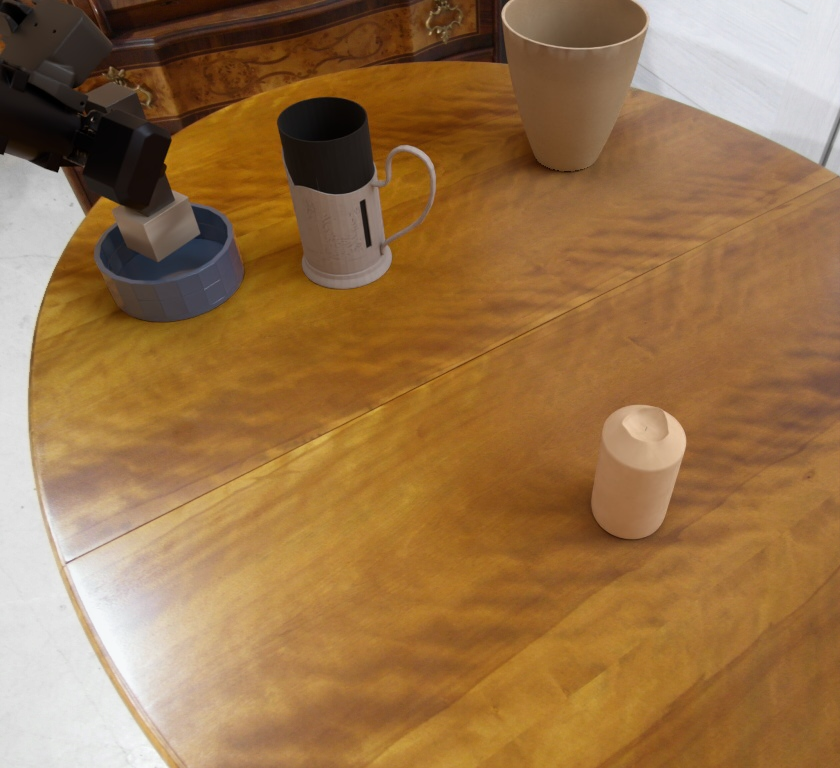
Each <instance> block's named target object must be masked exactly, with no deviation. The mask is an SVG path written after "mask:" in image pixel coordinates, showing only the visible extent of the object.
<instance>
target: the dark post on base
mask: <svg viewBox="0 0 840 768" xmlns="http://www.w3.org/2000/svg"><path fill="white" fill-rule="evenodd" d="M84 94H85V95H88V96H89V97H88V100H87V103H86V106H85V109H84V112H85V114H86V115H88V113H89V112H90V111H92V110H97V111H99V112H102V113H104V114H107V113H109V112H110V111H111V109H113V110H115V109H119V110H122V111H124V112H126V113H129V114H131V115H134V116H136V117H139V118H141V119H144V120H146V121H148V120H147V117H146V114H145V112H144V109H143V106H142V103H141V100H140V98H139V95H138V92H137V91H136V90H134V89H130V88H128V87H125V86H123V85H120V84H118V83H115V82H113V81H109V82H108V83H105V84H103V85H101V86H99V87H96V88H95V89H92V90H91V91H89V92H86V93H84ZM86 115H85V116H86ZM93 131H94V130H93ZM190 203H191V202H190V199H189V197H188V196H187V195H184V194H183V193H180V192H178V191H176V190H173V189H172V187H171V184H170V182H169V179H168V176H167V173H166V172H165V175H164V177H162V178H158V181H157V184H156V187H155V190H154V193H153V195H152V198H151V201H150V204H149V206H148V207H147V208H145V209H144V210H142V211H139V210H135V209H132V208H129V207H126V206H122V205H119V204H118V205H117V206H116V207H115V208H113V209H111V210H110V211H111V213H112V215H113V218H114V220H115V222H117V225H118V227H119V229H120V232H121V234H122V236H123V239H124V241H125V243H126V246H127V247H128V248H130V249H132V250H134V251H136V252H138V253H140V254H142V255H144V256H146V257H148V258H150V259H152V260H154V261H156V262H159V261H161V260H162V259H164V258H165V257H167V256H168V255H170V254H171V253H173V252H174V251H176V250H177V249H179V248H180V247H182V246H183V245H185V244H186V243H187V242H189V241H190V240H192V239H193V238H195V237H196V236H198V235H199V234H200V231H199V228H198V225H197V222H196V219H195V216H194V213H193V210H192V207H191V204H190Z"/></svg>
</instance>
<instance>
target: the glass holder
mask: <svg viewBox="0 0 840 768" xmlns="http://www.w3.org/2000/svg"><path fill="white" fill-rule="evenodd" d="M276 125H277V130H278V135H279V139H280V143H281V157H282V163H283V167H284V171H285V175H286V179H287V183H288V188H289V193H290V198H291V203H292V205H293V210H294V214H295V219H296V225H297V228H298V232H299V238H300V242H301V246H302V250H303V255H302V259H301V268H302V271H303V273H304V275H305V276H306V277H307V278H308V279H309V280H310V281H311V282H312V283H314V284H316V285H319V286H321V287H324V288H327V289H334V290H350V289H356V288H360V287H363V286H367V285H369V284H372V283H373V282H376V281H377V280H379V279H380V278H381V277H382V276H384V275H385V274H386V273H387V271H388V270H389V269H390V267H391V265H392V262H393V261H392V260H393V253H392V250H391V247H390V246H389V245H390V244H391V243H393V242H395V241H396V240H398V239H399V238H401V237H403V236H404V235H407V234H408V233H410V232H411V231H412V230H414V229H416V228H417V227H419V226H420V225H421V224H423V222H424V221H425V219H426V218H427V216H428V214H429V213H430V210H431V208H432V206H433V204H434V200H435V196H436V191H437V183H436V182H437V175H436V170H435V165H434V164H433V162H432V160H431V158H430V157H429V156H428V155H427V154H426V153H425V152H424V151H423V150H421V149H419V148H418V147H416V146H412V145H409V144H403V145H398V146H397V147H394V148H393V149H392V150H391V151H390V152H389V153H388V154H387V157H386V160H385V163H384V164H385V165H384V172H385V180H380V179H379V180H378V172H377V171H378V170H377V166H376V163H375V161H374V157H373V149H372V140H371V133H370V125H369V118H368V112H367V109H365V108H364V107H363V105H361V104H360V103H359V102H356V101H354V100H352V99H349V98H344V97H337V96H318V97H311V98H307V99H302V100H299V101H297V102H294V103H293V104H291V105H289V106H287V107H285V109H282V111H281V112H280V113H279V115H278V116H277V119H276ZM399 153H408V154H412V155H414V156H415V157H418V158H419V159H420V160H421V161H422V162H423V163H424V165H425V167H426V168H427V170H428V174H429V180H430V181H429V182H430V184H429V185H430V186H429V196H428V199H427V200H428V202H427V204H426V206H425V208H424V209H423V212H422V213H421V215H420V216H419V218H417V219H416V220H415V221H414V222H412V223H411V224H410V225H408V226H406V227H405V228H403V229H402V230H399V231H398V232H395V233H394V234H393V235H391V236H389V237H388V238H387V239H386V234H385V228H384V220H383V210H382V203H381V196H380V194H381V193H380V188H385V187H386V186H388V185H389V184H390V182H391V180H392V161H393V158H394V157H395V155H396V154H399Z"/></svg>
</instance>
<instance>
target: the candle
mask: <svg viewBox="0 0 840 768" xmlns="http://www.w3.org/2000/svg"><path fill="white" fill-rule="evenodd" d="M686 448H687V436H686V433H685V430H684V428H683V427H682V425H681V423H680V422H679V421H678V420H677V419H676V418H675V417H674V416H673V415H671V414H670V413H669V412H667V411H665V410H664V409H662V408H661V407H658V406H652V405H648V404H632V405H626V406H623V407H620V408H618V409H616V410H615V411H614V412H612V413H611V414H610V415H609V416H608V417H607V418H606V420H605V422H604V423H603V426H602V431H601V438H600V443H599V449H598V456H597V461H596V466H595V467H596V468H595V473H594V480H593V481H594V482H593V486H592V492H591V500H590V506H591V507H590V508H591V512H592V515H593V517H594V519H595V521H596V523H597V524H598V525H599V526H600V527H601V528H602V529H603V530H604V531H605V532H607V533H609V534H610V535H612V536H614V537H617V538H620V539H625V540H638V539H639V540H640V539H644V538H646V537H649V536H651V535H653V534H654V533H655V532H657V531H658V529H659V528H660V527H661V525H662V524H663V522H664V520H665V517H666V514H667V512H668V508H669V505H670V502H671V499H672V495H673V492H674V489H675V485H676V482H677V478H678V475H679V472H680V468H681V465H682V462H683V458H684V456H685V455H684V454H685V452H686Z"/></svg>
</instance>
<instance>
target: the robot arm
mask: <svg viewBox="0 0 840 768" xmlns="http://www.w3.org/2000/svg"><path fill="white" fill-rule="evenodd" d="M30 2H31V3H32V4H33V5H34V6H29V5H27V4H25V3H22V2H19V1H16V0H0V36H1V37H0V42H2V43H3V44H4V48H3V49H2V51H1V52H0V155H1V156H5V154H7V155H10V156H12V157H16V158H18V159H22V160H25V161H28V162H29V163H32V164H34V165H36V166H37V167H40V168H42V169H45V170H47V171H50V172H53V173H56V174H58V173H59V171H60V168H81V167H82V168H83V170H82V173H81V176H82V179H83V181H84V183H85V185H86V187H87V190H88V191H90V192H91V193H94V194H96V195H98V196H100V197H102V198H104V199H107V200H109V201H111V202H112V203H115V204H117V205H118V206H119V205H122V206H126V207H129V208H132V209H135V210H139V211H142V210H144V209H145V208H147V207H148V206H149V204H150V201H151V198H152V195H153V193H154V190H155V187H156V184H157V181H158V178H162V177H164V175H165V173H166V171H167V168H168V165H167V164H166V163H165V161H166V158H167V156H168V153H169V150H170V147H171V144H172V141H173V139H172V136H171V132H170V130H169V129H166V128H165V127H162V126H160V125H158V124H156V123H153V122H151V121H148V120H147V119H146V120H147V121H146V120H144V119H141V118H139V117H136V116H134V115H131V114H129V113H126V112H124V111H122V110H119V109H115V110H113V109H111V111H110V112H109V113H107V114H104V113H102V112H99V111H97V110H92V111H90V112H89V113H88V115H85V113H84V112H85V110H84V109H85V106H86V103H87V100H88V97H89V96H88V95H85V94H86V93H83V92H81V91H78V90H76V89H77V88H79V87H81V86H82V85H83V84H84V83H86V81H87V80H88V78H89V77H90V75H92V73H93V72H94V71H95V69H96V68H97V67H98V66H99V65H100V63H101V62H102V60H103V59H107V58H109V56H110V55H111V53H112V51H113V47H114V46H113V45H114V44H113V43H112V41H111V40H110V39H109V38H108V36H106V34H104V33H103V31H102V30H101V29H100V28H99V26H97V24H95V22H94V21H93V20H92V19H91V18H90V17H89V15H88V14H87V13H86V12H85V11H84V10H83V9H82V8H81V7H78V6H75V5H72V4H70V3H67V2H64V1H61V0H30ZM93 130H94V131H93Z"/></svg>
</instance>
